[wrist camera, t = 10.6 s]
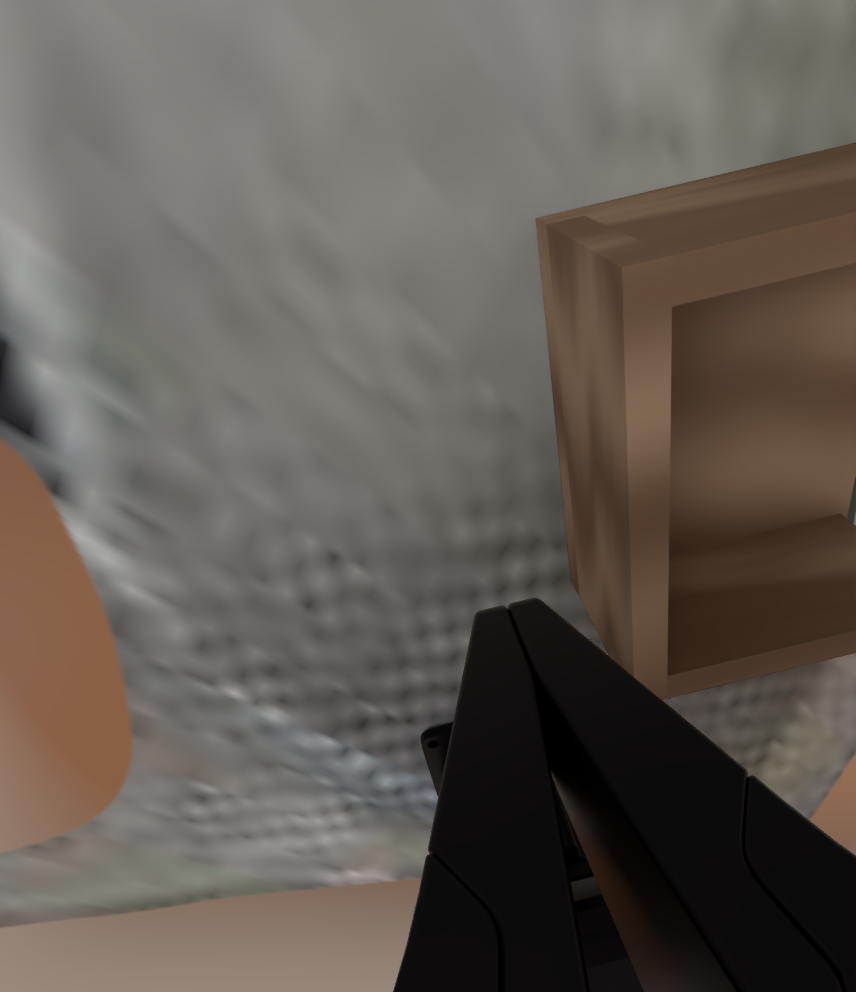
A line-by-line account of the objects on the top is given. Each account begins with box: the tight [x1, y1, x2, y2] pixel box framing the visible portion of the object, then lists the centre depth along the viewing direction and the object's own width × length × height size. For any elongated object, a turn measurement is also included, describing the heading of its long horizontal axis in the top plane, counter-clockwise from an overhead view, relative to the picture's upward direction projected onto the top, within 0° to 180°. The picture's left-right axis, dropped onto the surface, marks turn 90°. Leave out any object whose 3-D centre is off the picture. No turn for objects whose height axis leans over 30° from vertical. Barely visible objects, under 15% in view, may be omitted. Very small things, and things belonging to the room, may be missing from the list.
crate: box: [536, 143, 856, 700], centre depth 18 cm, size 13×10×6 cm
